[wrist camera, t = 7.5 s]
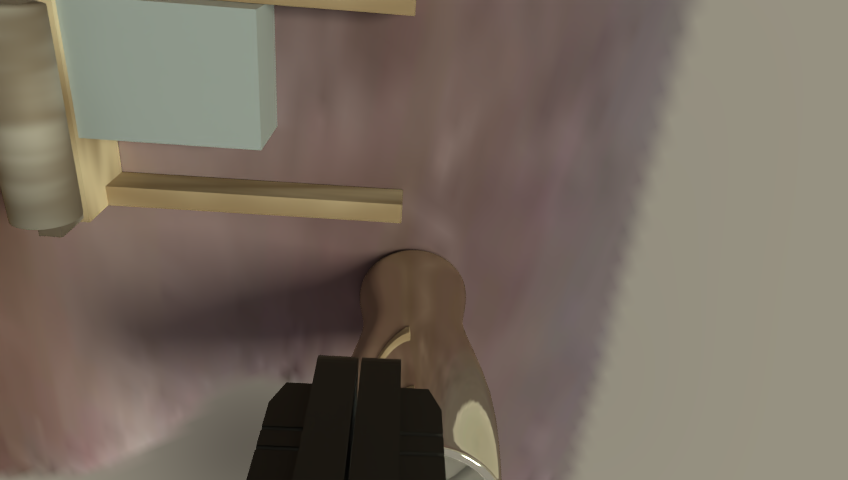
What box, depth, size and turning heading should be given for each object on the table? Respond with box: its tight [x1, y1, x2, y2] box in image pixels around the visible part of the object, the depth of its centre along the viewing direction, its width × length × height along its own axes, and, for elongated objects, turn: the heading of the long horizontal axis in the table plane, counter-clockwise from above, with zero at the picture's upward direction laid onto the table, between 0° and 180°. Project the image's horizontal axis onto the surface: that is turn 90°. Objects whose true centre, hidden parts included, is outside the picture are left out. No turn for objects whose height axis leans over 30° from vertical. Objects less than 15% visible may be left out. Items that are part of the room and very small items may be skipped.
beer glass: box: [351, 250, 502, 480], centre depth 30 cm, size 7×7×15 cm
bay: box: [0, 0, 416, 237], centre depth 28 cm, size 11×17×7 cm, turn 86°
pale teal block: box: [55, 0, 277, 150], centre depth 29 cm, size 6×8×4 cm
